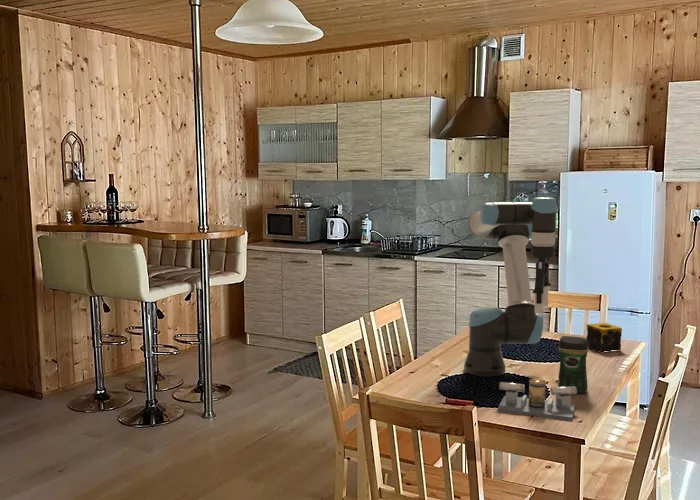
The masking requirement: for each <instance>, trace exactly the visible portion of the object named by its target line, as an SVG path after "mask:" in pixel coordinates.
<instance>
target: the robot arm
mask: <svg viewBox="0 0 700 500" xmlns="http://www.w3.org/2000/svg"><path fill="white" fill-rule="evenodd" d="M557 209H558V208H557V200H556V198H555V197H543V196H542V197H540V196H539V197H534V198H533V199H532V201H530V202H528V201H527V202H523V201H522V202H494V201H491V202H484V203H482V204H481V206H480V210H477V211H475V212H474V213H472V214H471V215H470V217H469V219H468V222H467V223H468V228H469V231H470V232H471V233H472V234H473V235H474V236H476V237H478V238H480V239H484V240H489V241H490V240H493V241H494V240H497V241H498V242H497V243H498V246H499V247H501V249H502V253H503V263H504V271H505V273H504V274H505V283H506V292H507V303H508V304H507V305H506V306H505V308H504V311H502V310H503V309H502V308H499V307H495V306H494V307H493V306H491V307H480V308H477V309H475V310H472V311H471V312H470V314H469V319H468V320H469V322H468V326H469V330H468V338H469V339H468V351H467V354H466V357H465V361H464V364H463V372H465V373H466V374H469V375H471V376H477V377H487V378H488V377H499V376H501V375H502V376H503V375H504V374H506V364H505V361H504V357H503V353H502V345H504V344H505V345H508V344H511V345H513V344H515V345H517V344H522V345H523V344H526V345H528V344H538V343H539V342H540V340H541V338H542V335H543V330H544V315H543V314H544V309H545V308H544V307H549V287H551V285H552V283H550V274H549V273H550V262H549V261H550V259H553V258H555V256H556V246H555V245H556V239H557V238H558V235H557V234H556V227H557V226H556V224H557ZM529 240H530V243H531V247H530V257H532V258H536V259H538V260H537V261H536V262H535V280H534V290H533V289H532V290H531V283H530V275H529V274H530V273H529V267H528V265H529V264H528V257H527V251H526V249H527V247H526V246H527V245H528V243H529ZM531 291H532V293H533V294H534V303H533V301H532V293H531Z"/></svg>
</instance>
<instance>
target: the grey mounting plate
mask: <svg viewBox="0 0 700 500" xmlns="http://www.w3.org/2000/svg"><path fill="white" fill-rule="evenodd" d="M575 408H576V403H575V402H574V403H572V402H571V409H560V408H559V407H558V406H556V400H554V398H552V397H550V398H548V399H547V400H546V399H545V407H544V408H532V407H530V406H529V397H528V396H527V395H525V394H523V396H517V403H516V405H508V404H506V395H504V396H503V398H502V399H501V402H500V403H499V405H498V407H497V412H500V413H506V414H507V413H508V414H517V415H525V416H532V417H540V418H541V417H542V418H549V419H558V420H564V421H565V420H566V421H573V418H574V413H575Z"/></svg>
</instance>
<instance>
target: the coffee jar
mask: <svg viewBox="0 0 700 500" xmlns="http://www.w3.org/2000/svg"><path fill="white" fill-rule="evenodd" d="M558 353H559V357H560V358H559V360H560V361H559V369H558V378H557V387H569V386H575V387H576V389H577V393H576V394H584V393H587V391H588V389H589V388H588V387H589V386H588V374H587V355H588V353H589V348H588V341H587V337H580V336H572V335H570V336H569V335H568V336H567V335H562V336H561V337H560V339H559V343H558Z"/></svg>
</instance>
